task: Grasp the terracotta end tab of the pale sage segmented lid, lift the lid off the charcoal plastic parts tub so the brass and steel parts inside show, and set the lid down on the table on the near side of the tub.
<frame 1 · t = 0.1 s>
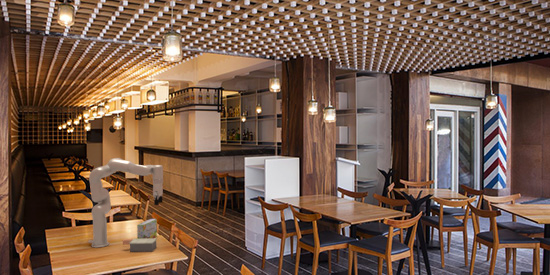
hand: (158, 203, 302), 31 cm above the table, fingers open, 9 cm apart
snack box: (147, 240, 315), on the table
lid: (143, 241, 290), point 6 cm above the table, touching tub
tub: (143, 249, 290), on the table
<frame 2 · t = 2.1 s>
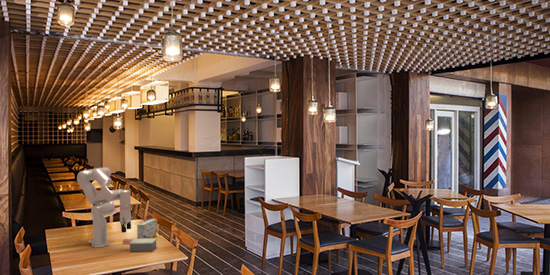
hand: (126, 230, 289), 14 cm above the table, fingers open, 9 cm apart
nothing on the table moved.
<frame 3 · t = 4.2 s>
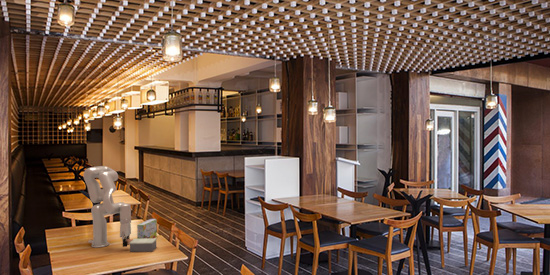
hand: (126, 245, 290), 3 cm above the table, fingers closed on lid, 3 cm apart
lid: (143, 241, 290), point 6 cm above the table, touching gripper, tub
everything else where it was.
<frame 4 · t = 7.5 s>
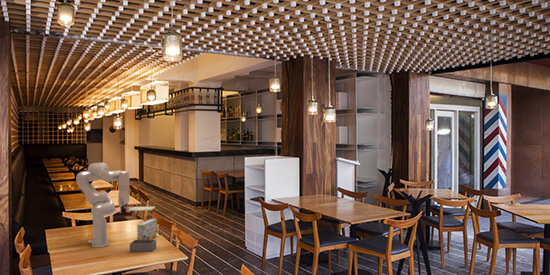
hand: (124, 213, 288), 27 cm above the table, fingers closed on lid, 3 cm apart
lid: (141, 209, 288), point 30 cm above the table, touching gripper
everything else where it was.
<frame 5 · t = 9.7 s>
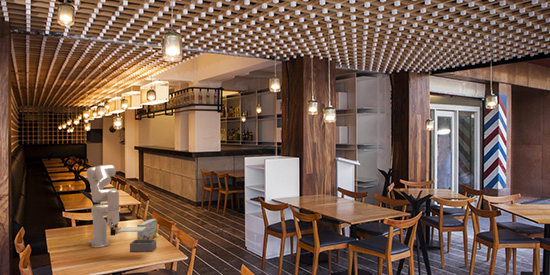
hand: (114, 234, 274), 16 cm above the table, fingers closed on lid, 3 cm apart
lid: (132, 230, 274), point 19 cm above the table, touching gripper
everything else where it was.
when the fingers open (9 cm above the table, at t = 11.1 s): lid drops 11 cm, point 1 cm above the table.
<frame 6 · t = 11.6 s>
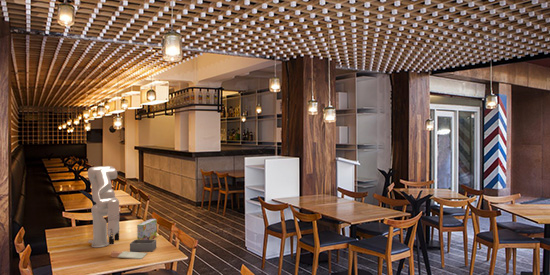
hand: (114, 242, 275), 10 cm above the table, fingers open, 8 cm apart
lid: (132, 255, 275), point 1 cm above the table, tilted 5°
everything else where it was.
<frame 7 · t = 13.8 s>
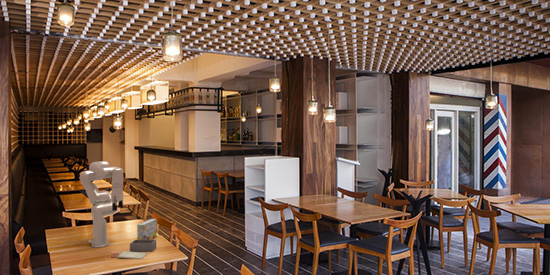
hand: (117, 209, 284), 31 cm above the table, fingers open, 9 cm apart
nothing on the table moved.
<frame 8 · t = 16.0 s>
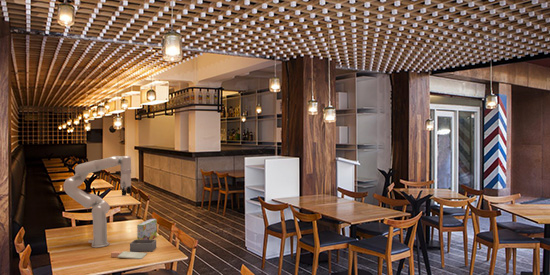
hand: (126, 194, 304), 38 cm above the table, fingers open, 9 cm apart
nothing on the table moved.
at the end: lid inside the target area (6.6 cm from its centre), point 0.6 cm above the table; the gripper is holding nothing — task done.
